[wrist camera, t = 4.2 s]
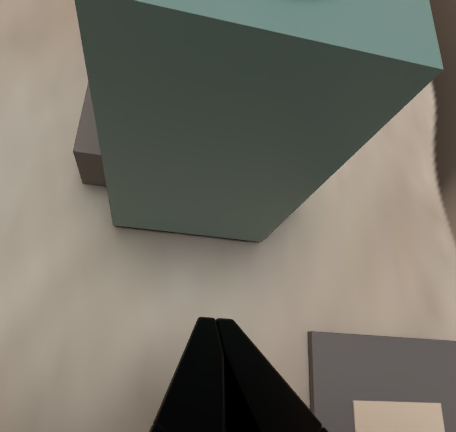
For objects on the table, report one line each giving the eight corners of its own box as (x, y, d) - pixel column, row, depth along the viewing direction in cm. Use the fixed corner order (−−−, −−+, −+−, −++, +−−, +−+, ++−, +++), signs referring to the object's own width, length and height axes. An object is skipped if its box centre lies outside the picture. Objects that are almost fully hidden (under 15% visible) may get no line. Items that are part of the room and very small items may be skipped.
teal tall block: (261, 241, 18) (476, 38, 7) (113, 225, 17) (63, -64, 5) (262, 136, 21) (426, -154, 9) (131, 114, 19) (124, -260, 8)
